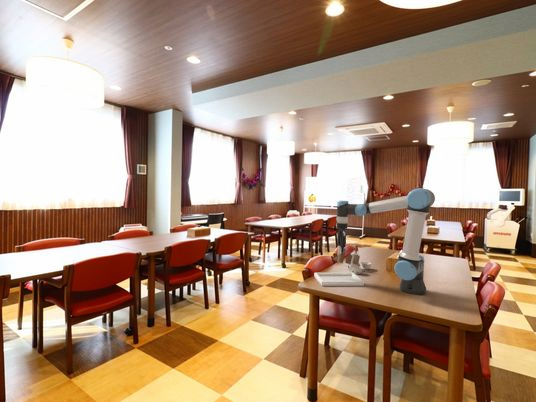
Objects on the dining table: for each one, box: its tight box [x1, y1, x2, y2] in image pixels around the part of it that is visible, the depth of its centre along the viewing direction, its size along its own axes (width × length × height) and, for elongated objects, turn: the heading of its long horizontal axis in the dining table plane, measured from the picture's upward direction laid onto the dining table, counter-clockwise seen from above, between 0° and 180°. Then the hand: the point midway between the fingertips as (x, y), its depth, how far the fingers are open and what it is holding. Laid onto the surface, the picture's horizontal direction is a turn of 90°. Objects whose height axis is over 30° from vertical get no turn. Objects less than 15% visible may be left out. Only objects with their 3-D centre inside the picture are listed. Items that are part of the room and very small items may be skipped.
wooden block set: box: [332, 247, 361, 265], centre depth 189 cm, size 18×9×10 cm, turn 53°
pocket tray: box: [313, 272, 365, 287], centre depth 188 cm, size 20×28×3 cm
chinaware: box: [347, 249, 373, 275], centre depth 216 cm, size 28×17×17 cm, turn 145°
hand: (340, 255), depth 190 cm, fingers closed on wooden block set, 4 cm apart
